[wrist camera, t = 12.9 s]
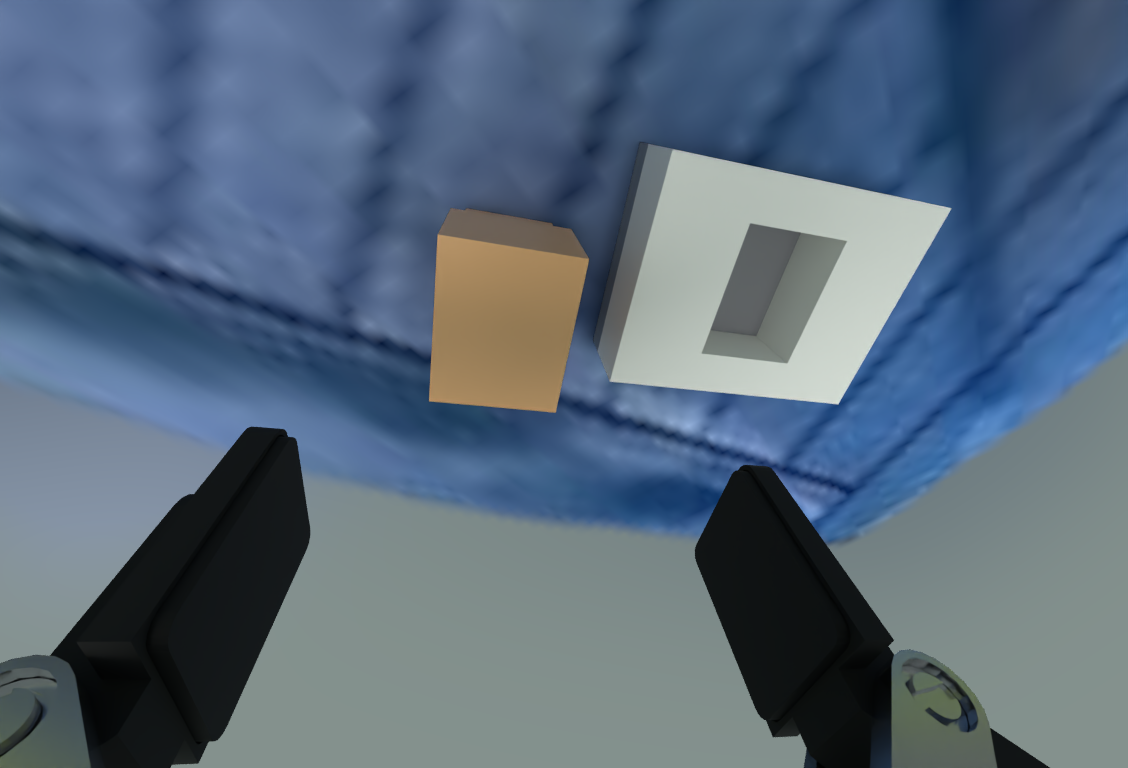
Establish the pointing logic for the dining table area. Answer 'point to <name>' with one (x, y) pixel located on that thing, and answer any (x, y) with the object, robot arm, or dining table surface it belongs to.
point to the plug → (503, 310)
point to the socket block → (753, 277)
